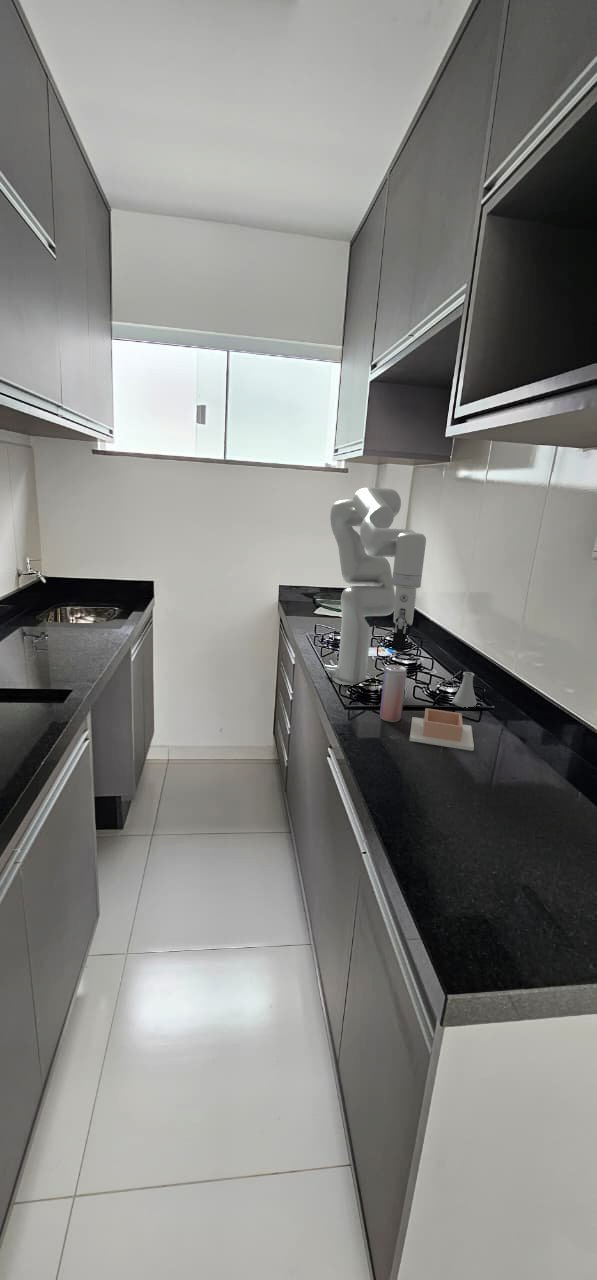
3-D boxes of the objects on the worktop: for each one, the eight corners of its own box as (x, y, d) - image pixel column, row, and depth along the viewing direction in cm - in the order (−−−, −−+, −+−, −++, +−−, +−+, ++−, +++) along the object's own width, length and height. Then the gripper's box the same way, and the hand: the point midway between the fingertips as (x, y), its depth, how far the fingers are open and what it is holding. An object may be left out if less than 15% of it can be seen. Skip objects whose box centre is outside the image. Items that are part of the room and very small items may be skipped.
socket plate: (409, 740, 150) (411, 722, 148) (411, 720, 163) (414, 703, 162) (473, 750, 146) (476, 732, 145) (470, 729, 160) (473, 712, 158)
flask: (461, 698, 183) (465, 668, 180) (481, 706, 177) (486, 675, 175) (447, 702, 178) (451, 671, 175) (467, 710, 173) (472, 679, 170)
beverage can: (375, 715, 164) (380, 665, 160) (393, 713, 167) (398, 663, 163) (387, 723, 159) (393, 672, 155) (405, 721, 162) (411, 670, 158)
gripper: (420, 587, 144) (412, 653, 148) (422, 577, 160) (414, 636, 164) (389, 584, 145) (382, 649, 150) (394, 574, 161) (388, 633, 166)
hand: (399, 642), depth 157 cm, fingers open, 9 cm apart
